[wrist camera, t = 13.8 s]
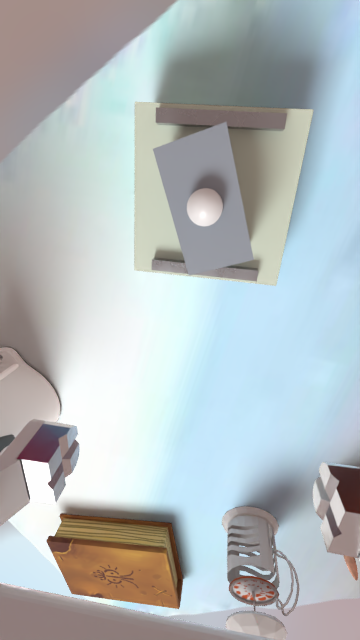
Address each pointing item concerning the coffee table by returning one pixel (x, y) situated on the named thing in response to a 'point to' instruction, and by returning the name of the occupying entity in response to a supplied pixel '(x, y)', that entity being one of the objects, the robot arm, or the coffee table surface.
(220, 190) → the block
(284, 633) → the french press
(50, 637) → the robot arm
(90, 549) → the diary
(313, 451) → the coffee table surface
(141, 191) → the stand
